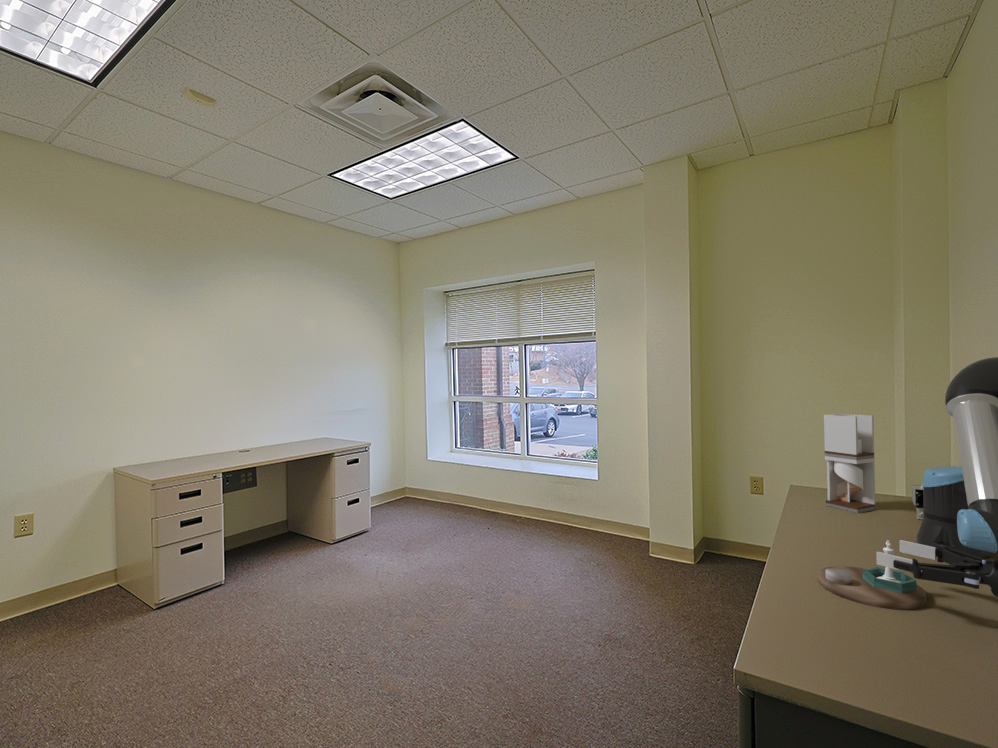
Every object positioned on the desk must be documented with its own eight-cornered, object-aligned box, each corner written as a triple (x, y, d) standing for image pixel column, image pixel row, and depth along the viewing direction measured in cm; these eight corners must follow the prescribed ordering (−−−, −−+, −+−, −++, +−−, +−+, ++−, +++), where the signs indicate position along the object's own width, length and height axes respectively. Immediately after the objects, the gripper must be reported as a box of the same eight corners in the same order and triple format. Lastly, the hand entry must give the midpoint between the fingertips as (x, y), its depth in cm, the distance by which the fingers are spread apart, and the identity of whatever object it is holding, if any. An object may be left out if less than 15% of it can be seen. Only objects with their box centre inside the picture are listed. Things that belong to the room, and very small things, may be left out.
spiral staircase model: (825, 505, 187) (823, 414, 187) (843, 502, 191) (841, 413, 191) (857, 513, 176) (855, 416, 177) (875, 509, 180) (873, 415, 181)
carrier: (892, 575, 121) (892, 561, 121) (950, 613, 101) (949, 596, 101) (804, 569, 125) (803, 556, 125) (843, 605, 105) (842, 589, 105)
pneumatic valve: (916, 522, 164) (915, 486, 164) (912, 514, 174) (911, 480, 174) (938, 525, 161) (937, 488, 161) (932, 516, 171) (931, 482, 171)
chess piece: (897, 581, 114) (896, 538, 114) (906, 589, 109) (905, 545, 109) (872, 578, 116) (871, 536, 116) (880, 586, 111) (879, 543, 111)
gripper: (1006, 620, 87) (866, 580, 105) (1036, 586, 101) (909, 556, 119) (1005, 578, 88) (866, 546, 105) (1036, 550, 101) (908, 525, 119)
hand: (888, 551), depth 112 cm, fingers open, 13 cm apart
